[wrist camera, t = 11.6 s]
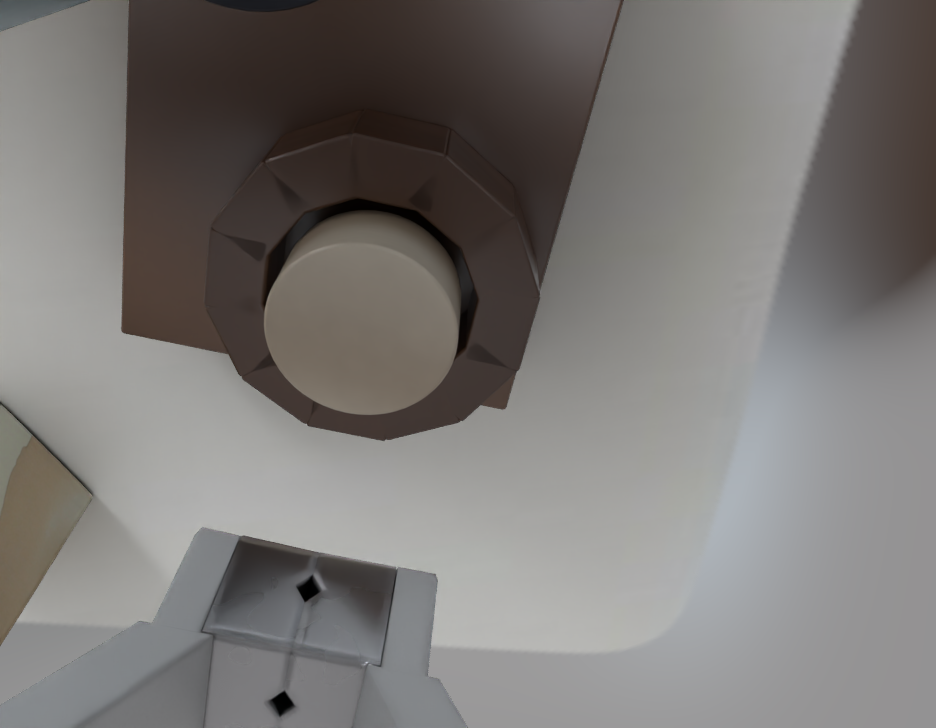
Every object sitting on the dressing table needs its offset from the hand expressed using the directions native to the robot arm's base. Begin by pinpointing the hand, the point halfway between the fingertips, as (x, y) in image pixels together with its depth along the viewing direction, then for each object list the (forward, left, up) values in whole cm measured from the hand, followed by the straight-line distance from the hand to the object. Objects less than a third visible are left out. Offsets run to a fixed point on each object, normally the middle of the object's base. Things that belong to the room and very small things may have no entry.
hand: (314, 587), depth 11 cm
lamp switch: (0, 0, -8) cm, 8 cm away
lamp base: (-3, -1, -11) cm, 12 cm away
